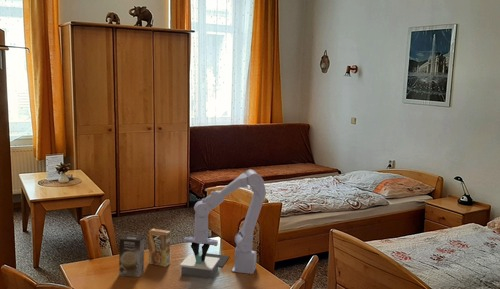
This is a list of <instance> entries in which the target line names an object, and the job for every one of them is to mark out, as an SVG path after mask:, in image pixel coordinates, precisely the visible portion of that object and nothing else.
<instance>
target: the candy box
mask: <svg viewBox="0 0 500 289" xmlns="http://www.w3.org/2000/svg"><path fill="white" fill-rule="evenodd" d="M148 264H149V265H153V266H154V265H155V266H161V267H168V265H170V264H171V231H170V230H164V229H160V228H159V229H158V228H151V229H150V230H149V231H148Z"/></svg>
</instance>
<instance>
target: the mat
mask: <svg viewBox="0 0 500 289" xmlns="http://www.w3.org/2000/svg"><path fill="white" fill-rule="evenodd" d="M206 256H207V257H215V258H220V260H219V261H218V268H223V267H224V266H225V264H226V263H227V261H228V260H229V259H228V258H230V257H229V256H230V255H223V254H216V253H208V252H207V253H206Z"/></svg>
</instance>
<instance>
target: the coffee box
mask: <svg viewBox="0 0 500 289" xmlns="http://www.w3.org/2000/svg"><path fill="white" fill-rule="evenodd" d="M118 244H119V250H118V252H119V253H118V254H119V258H118V260H119V262H118V268H119V270H118V276H121V277H122V276H123V277H133V278H134V277H135V278H140V277H141V276H142V274H143V273H144V271H145V235H141V234H140V235H139V234H137V235H136V234H129V233H124V234H123V235H122V236H121V237H120V238H119V243H118Z"/></svg>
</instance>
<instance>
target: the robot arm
mask: <svg viewBox="0 0 500 289" xmlns="http://www.w3.org/2000/svg"><path fill="white" fill-rule="evenodd" d="M249 187H250V189H251V191H252V192H253V193H252V197H251V200H250V203H249V207H248V209H247V212H246V215H245V218H244V221H243V224H242V226H241V227H240V228H239V230H238V232H237V234H235V236H234V242H235V244H236V246H235V248H234V266H233V268H231V269H232V270H231V272H234V273H241V274H249V273H250V274H249V275H253V274H254V272H255V271H256V269H257V257H258V256H257V251H256V250H253V246H254V243H253V242H254V231H255V227H256V224H257V221H258V219H259V217H260V216H259V215H260V213H261V209H262V206H263V204H264V202H265V198H266V195H267V191H266V185H265V180H264V179H263V177H262V176H261V175H260V174H259V173H258V172H256V170H254V169H247V170H246V171H245V172H242V173H241V174H240V175H238V176H237V177H236V178H235V179H234V180H232V181H231V182H230V183H228V184H227V185H225V186H224V187H223V188H222V189H221V190H215V191H214V190H212V191H210V194H209V195H207V196H206V197H203V198H201V200H198V201H197V202H196V203H195V204H194V206H193V209H194V212H195V213H194V229H193V230H194V232H193V236H185V237H184V238H183V243H185V244H187V243H189V244H191V245H190V248H191V250H192V252H193V255H195V259H196V255H197V254H198V253H199V252H200V245H202V246H201V251H202V261H204V260H205V257H206V253H208V251H209V249H210V246H214V247H217V246H218V245H219V240H217V239H213V238H208V234H209V214H210V213H211V211H212V210H214V209H215V208H217V207H218V206H220V204H222V203H223V202H224V201H225V197H228V196H229V195H231V194H233V193H234V192H235V191H237V190H239V189H240V188H243V189H244V188H249Z"/></svg>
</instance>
